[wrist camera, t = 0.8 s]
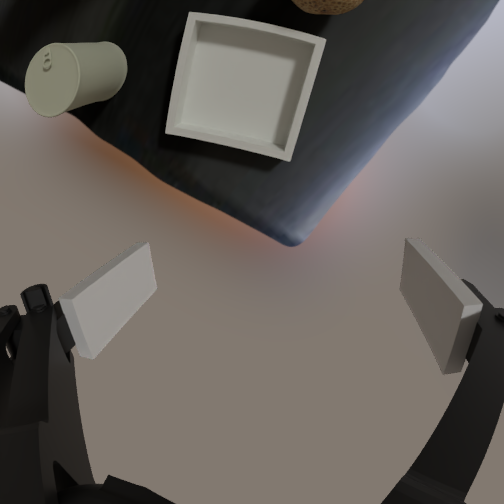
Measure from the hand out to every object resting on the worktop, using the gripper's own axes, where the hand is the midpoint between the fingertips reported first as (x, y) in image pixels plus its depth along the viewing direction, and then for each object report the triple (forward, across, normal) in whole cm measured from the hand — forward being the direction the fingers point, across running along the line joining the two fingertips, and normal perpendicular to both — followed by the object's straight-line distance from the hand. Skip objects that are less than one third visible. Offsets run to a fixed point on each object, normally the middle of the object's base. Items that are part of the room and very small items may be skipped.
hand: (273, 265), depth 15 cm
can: (+23, -25, +20) cm, 40 cm away
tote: (+25, -5, +14) cm, 29 cm away
